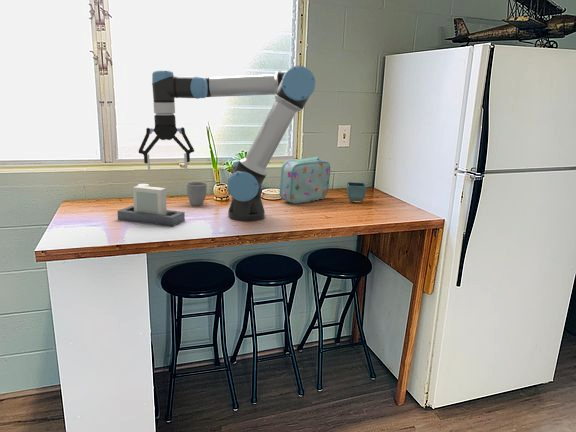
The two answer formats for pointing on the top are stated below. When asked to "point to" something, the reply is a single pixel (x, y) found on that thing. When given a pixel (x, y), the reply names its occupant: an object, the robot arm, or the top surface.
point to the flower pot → (356, 191)
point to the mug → (196, 192)
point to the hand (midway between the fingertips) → (167, 171)
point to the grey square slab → (149, 200)
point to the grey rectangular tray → (151, 217)
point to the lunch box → (304, 180)
